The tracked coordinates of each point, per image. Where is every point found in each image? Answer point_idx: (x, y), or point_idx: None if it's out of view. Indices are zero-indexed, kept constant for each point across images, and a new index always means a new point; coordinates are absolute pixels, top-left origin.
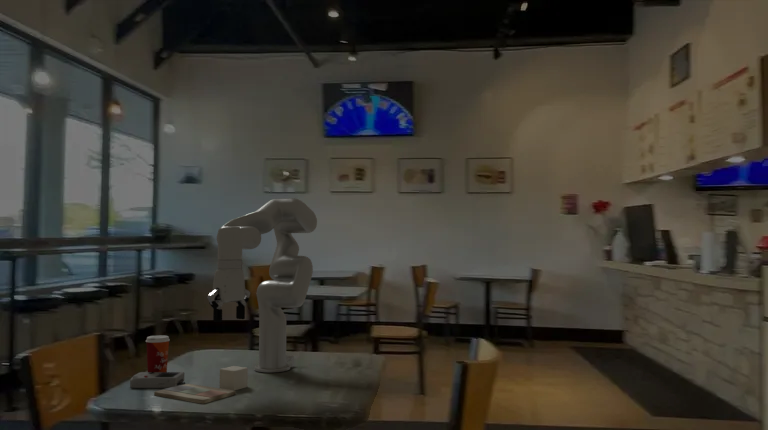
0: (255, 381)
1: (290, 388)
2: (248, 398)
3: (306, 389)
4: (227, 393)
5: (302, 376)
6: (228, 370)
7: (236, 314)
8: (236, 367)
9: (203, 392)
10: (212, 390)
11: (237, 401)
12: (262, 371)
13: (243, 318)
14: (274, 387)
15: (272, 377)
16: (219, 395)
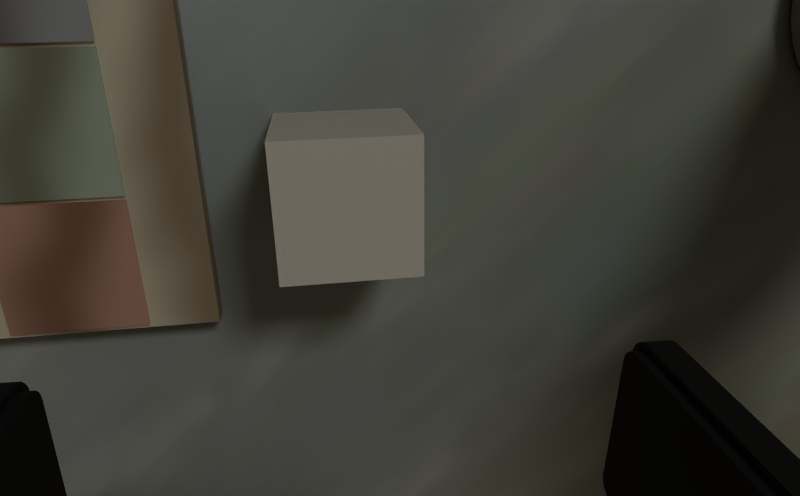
0: (543, 161)
1: (489, 425)
2: (205, 419)
3: (507, 488)
4: (149, 325)
5: (763, 289)
6: (274, 231)
7: (667, 396)
8: (386, 204)
9: (45, 210)
10: (121, 215)
11: (124, 423)
12: (794, 5)
13: (615, 492)
14: (468, 354)
15: (682, 167)
16: (79, 332)
